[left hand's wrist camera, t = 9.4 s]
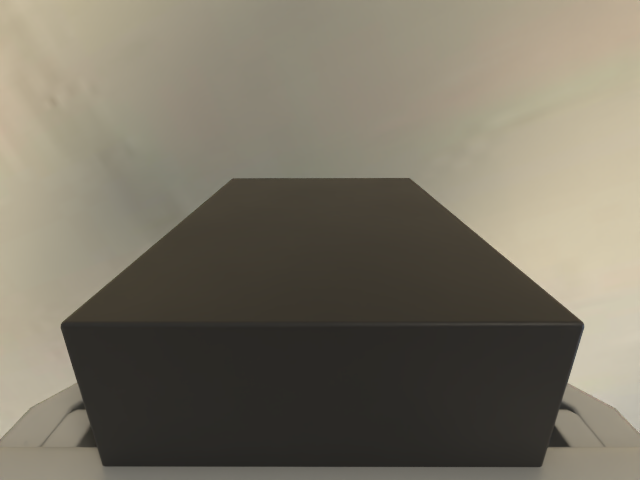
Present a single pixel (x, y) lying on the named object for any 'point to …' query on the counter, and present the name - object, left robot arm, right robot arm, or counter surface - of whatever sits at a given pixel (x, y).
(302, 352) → the box
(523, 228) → the counter surface
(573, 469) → the left robot arm
